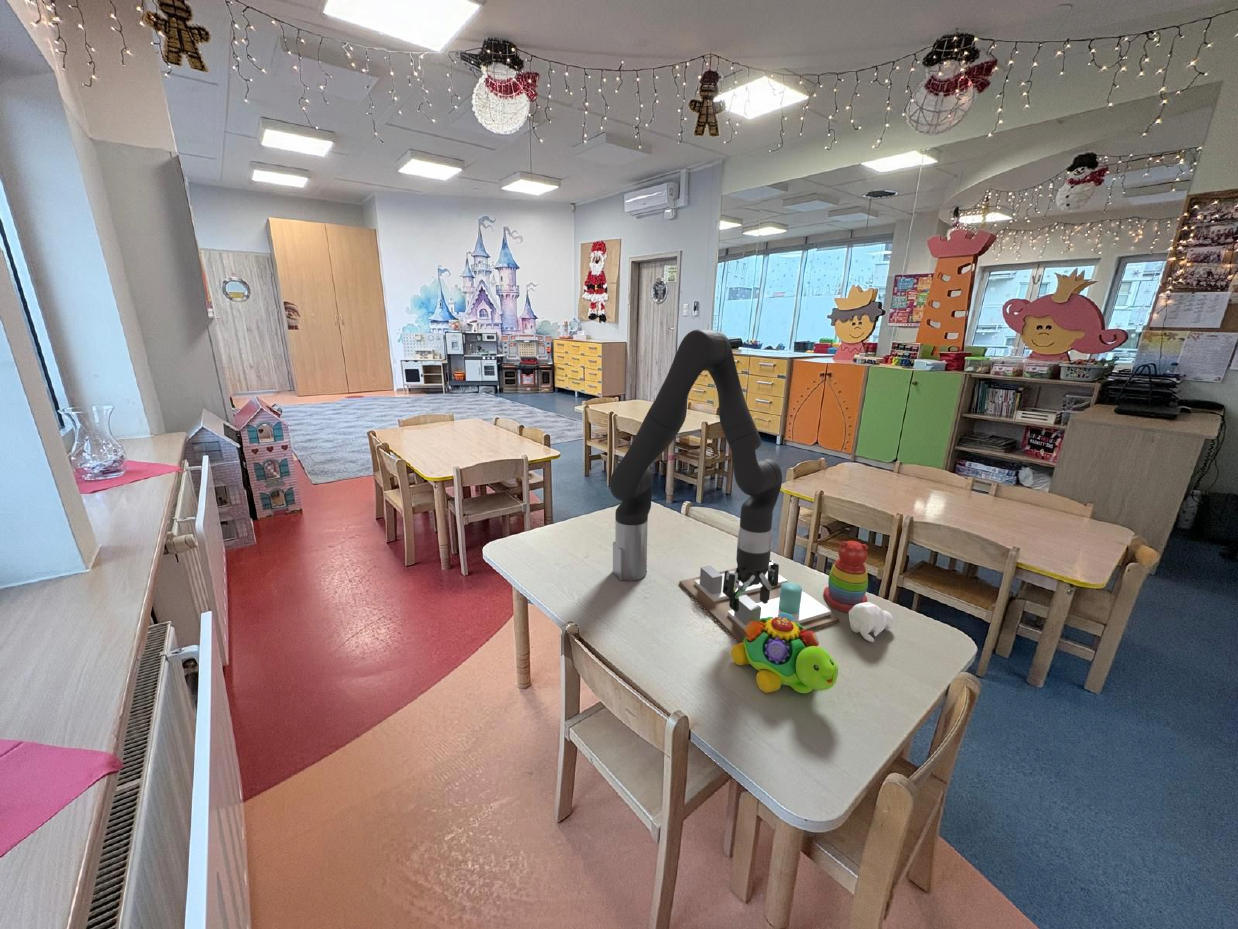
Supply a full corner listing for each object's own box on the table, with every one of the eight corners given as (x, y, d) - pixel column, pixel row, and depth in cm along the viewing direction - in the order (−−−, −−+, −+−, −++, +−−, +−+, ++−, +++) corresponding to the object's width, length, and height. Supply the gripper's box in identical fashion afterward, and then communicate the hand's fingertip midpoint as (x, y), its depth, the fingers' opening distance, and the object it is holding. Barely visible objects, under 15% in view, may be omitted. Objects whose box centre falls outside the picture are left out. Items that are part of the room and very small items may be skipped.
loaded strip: (752, 637, 117) (754, 615, 115) (727, 614, 125) (729, 593, 124) (830, 614, 126) (833, 593, 124) (802, 594, 134) (804, 574, 133)
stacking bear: (866, 598, 135) (877, 538, 130) (867, 618, 126) (878, 554, 121) (824, 588, 139) (832, 530, 134) (821, 607, 131) (830, 545, 125)
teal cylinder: (787, 616, 123) (790, 594, 121) (774, 605, 128) (776, 584, 126) (803, 611, 125) (806, 590, 123) (790, 601, 130) (792, 580, 128)
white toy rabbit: (849, 599, 119) (882, 591, 124) (841, 631, 121) (874, 622, 126) (872, 613, 113) (906, 605, 119) (864, 646, 115) (897, 636, 121)
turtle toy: (792, 728, 93) (800, 676, 90) (720, 653, 114) (724, 608, 110) (859, 701, 100) (868, 651, 96) (780, 634, 120) (785, 591, 117)
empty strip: (714, 602, 131) (715, 581, 129) (694, 583, 140) (695, 564, 138) (787, 583, 140) (789, 564, 138) (764, 567, 148) (765, 548, 147)
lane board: (746, 650, 114) (746, 646, 114) (679, 584, 141) (679, 581, 141) (839, 622, 125) (839, 618, 124) (759, 565, 152) (760, 562, 152)
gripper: (738, 557, 110) (733, 621, 114) (789, 545, 115) (783, 607, 120) (718, 543, 116) (715, 604, 121) (768, 533, 121) (763, 592, 126)
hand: (749, 606), depth 120 cm, fingers open, 8 cm apart
